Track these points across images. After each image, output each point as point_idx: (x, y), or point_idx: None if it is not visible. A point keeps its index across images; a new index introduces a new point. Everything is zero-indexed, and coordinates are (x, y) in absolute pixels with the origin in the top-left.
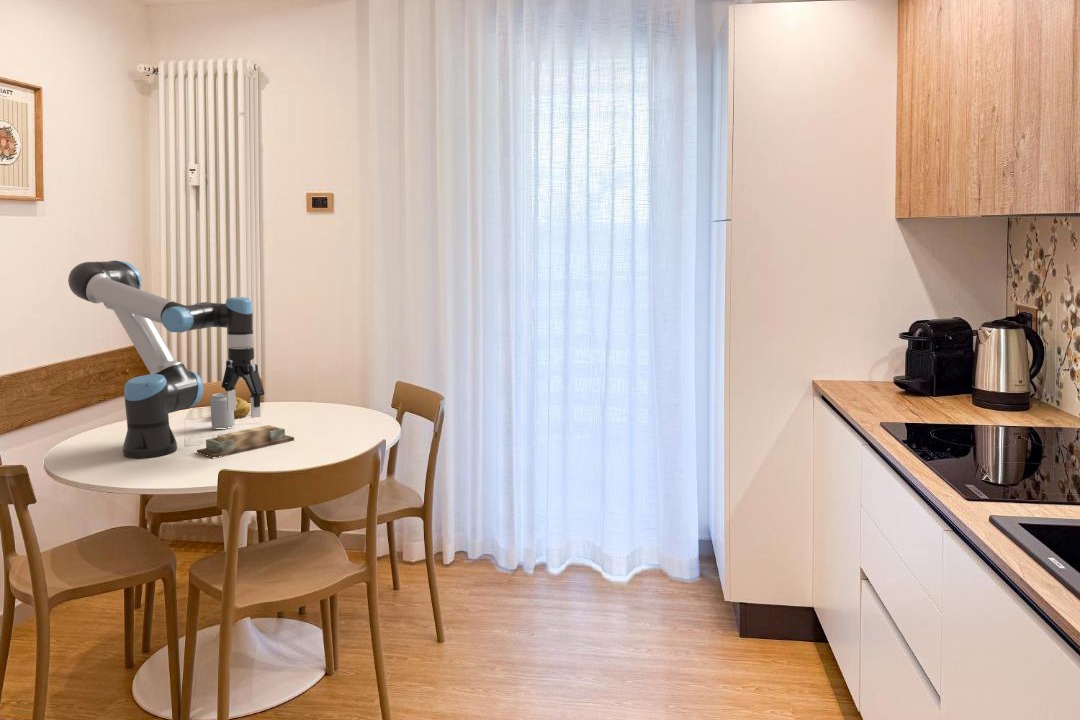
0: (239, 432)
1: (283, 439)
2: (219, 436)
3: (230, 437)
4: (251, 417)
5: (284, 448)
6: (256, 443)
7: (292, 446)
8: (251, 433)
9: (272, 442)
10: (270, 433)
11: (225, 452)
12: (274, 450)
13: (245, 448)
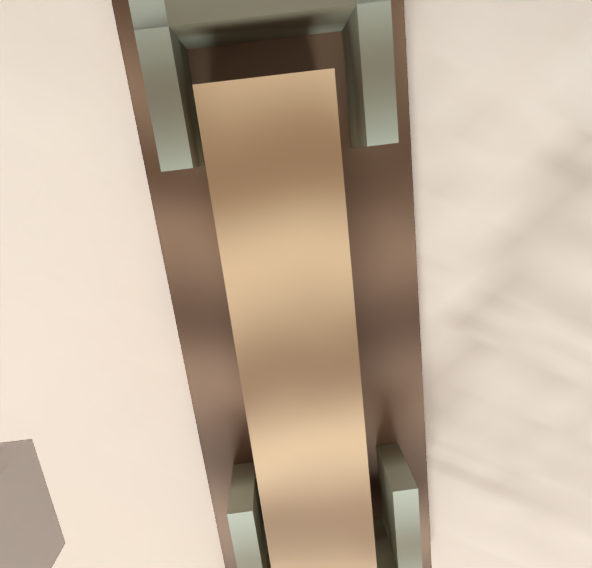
0: (298, 294)
1: (220, 532)
2: (291, 73)
3: (207, 159)
4: (21, 442)
5: (63, 460)
6: None
7: (82, 513)
8: (241, 374)
9: (204, 456)
10: (240, 503)
11: (127, 65)
12: (52, 395)
13: (162, 249)
